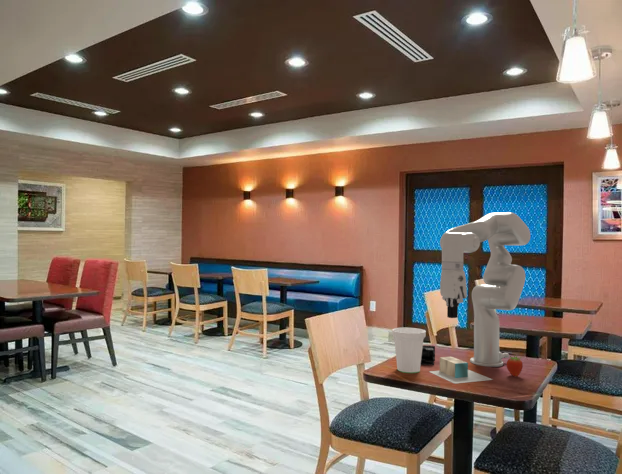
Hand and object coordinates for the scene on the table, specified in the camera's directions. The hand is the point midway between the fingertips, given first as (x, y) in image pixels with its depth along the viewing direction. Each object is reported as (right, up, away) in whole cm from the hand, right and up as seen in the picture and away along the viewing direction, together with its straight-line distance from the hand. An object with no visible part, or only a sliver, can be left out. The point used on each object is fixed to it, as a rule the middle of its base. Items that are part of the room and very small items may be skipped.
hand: (452, 317), depth 174 cm
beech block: (+3, -18, -3) cm, 19 cm away
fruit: (+23, -22, 0) cm, 31 cm away
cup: (-14, -21, +6) cm, 27 cm away
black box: (-6, -22, +20) cm, 30 cm away
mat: (+3, -21, 0) cm, 21 cm away
